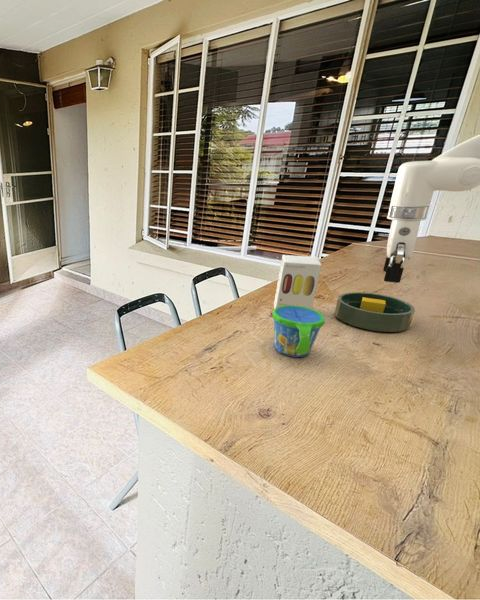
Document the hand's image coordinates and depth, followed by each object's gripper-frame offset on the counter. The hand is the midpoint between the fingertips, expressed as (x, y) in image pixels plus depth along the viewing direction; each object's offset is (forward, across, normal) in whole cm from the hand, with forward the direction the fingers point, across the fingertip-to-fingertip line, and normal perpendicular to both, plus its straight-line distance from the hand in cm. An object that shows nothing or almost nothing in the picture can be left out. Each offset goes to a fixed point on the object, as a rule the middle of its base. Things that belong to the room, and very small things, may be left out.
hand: (390, 276), depth 95 cm
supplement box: (+12, -6, +21) cm, 26 cm away
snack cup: (+12, -32, +17) cm, 39 cm away
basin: (+13, -2, +2) cm, 13 cm away
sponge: (+12, -2, +3) cm, 13 cm away
